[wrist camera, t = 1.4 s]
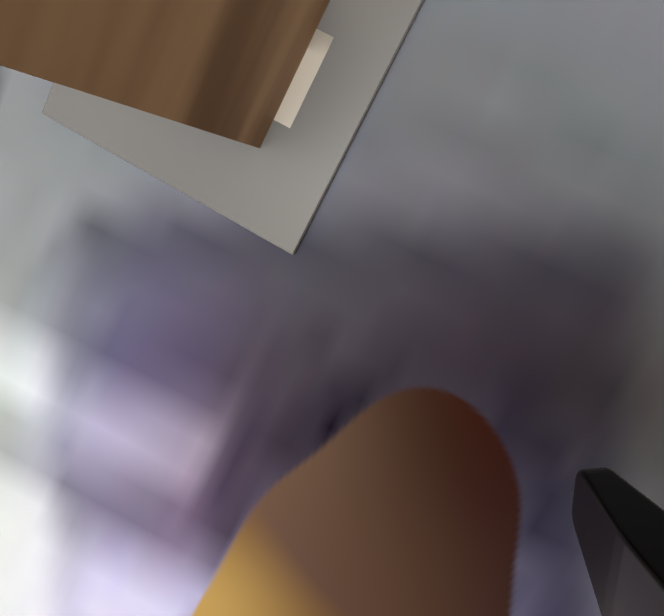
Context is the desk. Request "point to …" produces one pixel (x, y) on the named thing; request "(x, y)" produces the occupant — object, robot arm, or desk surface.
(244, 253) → the desk surface
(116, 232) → the desk surface
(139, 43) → the walnut block
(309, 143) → the grey flat square plate
